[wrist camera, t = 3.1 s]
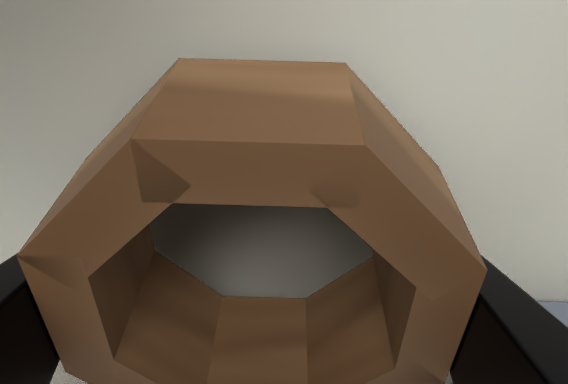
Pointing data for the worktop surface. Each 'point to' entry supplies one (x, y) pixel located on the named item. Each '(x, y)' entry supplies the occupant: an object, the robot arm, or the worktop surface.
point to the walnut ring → (260, 192)
